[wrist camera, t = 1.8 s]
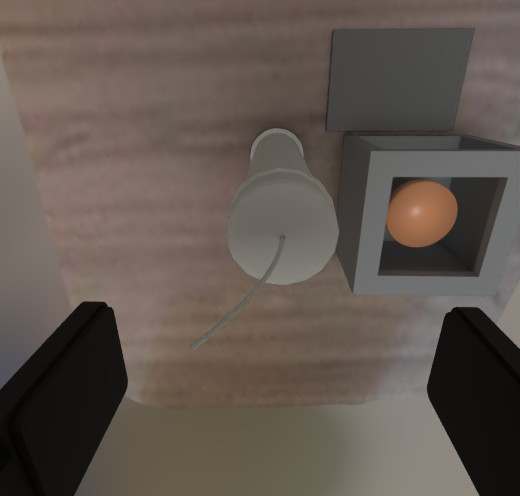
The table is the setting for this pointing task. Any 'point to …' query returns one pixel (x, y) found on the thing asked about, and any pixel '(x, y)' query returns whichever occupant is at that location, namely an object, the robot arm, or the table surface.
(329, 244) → the grey cylindrical piece
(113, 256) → the table surface
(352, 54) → the mat
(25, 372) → the robot arm
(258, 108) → the table surface
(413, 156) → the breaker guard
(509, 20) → the table surface
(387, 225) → the button
